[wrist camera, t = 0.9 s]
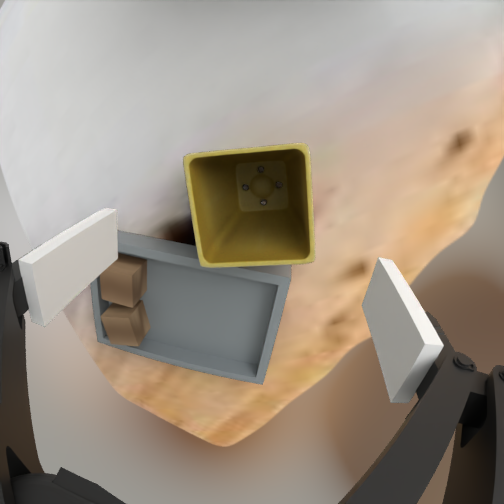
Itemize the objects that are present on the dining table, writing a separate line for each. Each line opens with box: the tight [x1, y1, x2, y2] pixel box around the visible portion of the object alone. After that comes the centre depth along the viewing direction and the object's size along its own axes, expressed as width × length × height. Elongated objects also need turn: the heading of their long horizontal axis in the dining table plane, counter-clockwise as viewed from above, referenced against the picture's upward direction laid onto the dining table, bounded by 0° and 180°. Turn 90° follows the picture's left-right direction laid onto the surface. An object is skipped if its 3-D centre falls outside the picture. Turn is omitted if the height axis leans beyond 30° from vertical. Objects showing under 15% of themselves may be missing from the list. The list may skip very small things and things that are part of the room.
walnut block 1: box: [100, 253, 147, 308], centre depth 33 cm, size 4×4×4 cm
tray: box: [90, 230, 291, 385], centre depth 35 cm, size 15×22×3 cm
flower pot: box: [183, 143, 315, 268], centre depth 26 cm, size 9×9×9 cm
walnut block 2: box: [101, 300, 151, 347], centre depth 35 cm, size 4×4×4 cm
